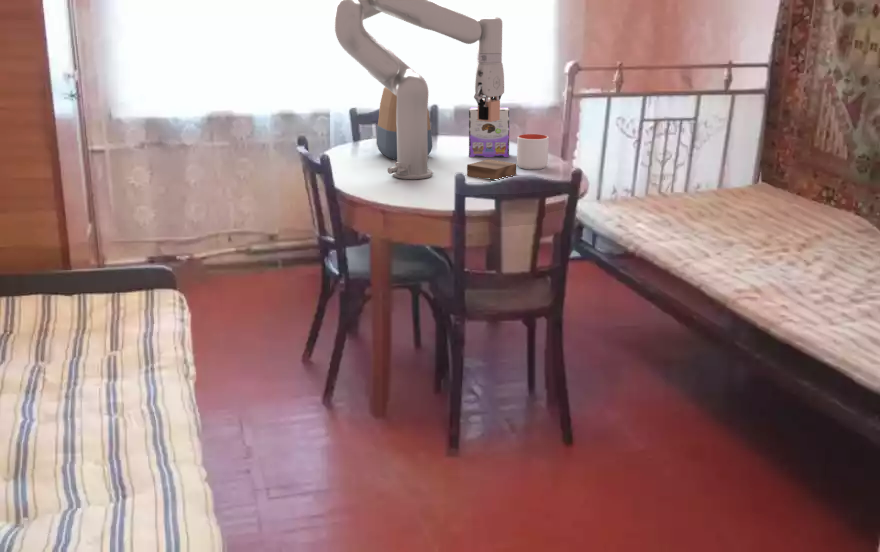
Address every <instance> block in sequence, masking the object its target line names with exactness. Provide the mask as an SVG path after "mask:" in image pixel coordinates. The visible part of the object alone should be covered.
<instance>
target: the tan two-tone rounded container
mask: <svg viewBox="0 0 880 552" xmlns="http://www.w3.org/2000/svg"><path fill="white" fill-rule="evenodd" d="M396 109H397V96H396V95H395V94H393V93H392V92H391V91H390V90H389V89H387V88H386V87H385V86H384V87H383V90H382V95H381V97H380V103H379V111H378V120H377V121H378V122H377V125H376V145H377V146H376V147H377V149H378V151H379V152H380V153H381V154H382V155H384V156H385V157H386V158H389V159H390V160H395V161H397V126H396ZM430 120H431V119H430V111H429V108H427V142H428V156H429V155H430V153H431V152H432V149H433V134H432V133H433V132H432V131H433V130H432V129H431V121H430Z"/></svg>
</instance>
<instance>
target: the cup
mask: <svg viewBox="0 0 880 552" xmlns="http://www.w3.org/2000/svg"><path fill="white" fill-rule="evenodd" d="M549 138H550V137H549V136H548V135H547V134H546V135H545V134H539V133H526V134H519V135H518V136H517V138H516V139H517V143H516V144H517V145H516V146H517V148H516V166H517V167H518V168H520V169H524V170H530V169H532V170H534V171H535V169H536V170H541V169H545V168H547V166H548V162H549Z"/></svg>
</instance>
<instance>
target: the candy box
mask: <svg viewBox="0 0 880 552" xmlns="http://www.w3.org/2000/svg"><path fill="white" fill-rule="evenodd" d="M510 110H511V109H510V107H501V106H500V120H497V121H492V122H488V121H479V120H478V106H477V107H469V110H468V157H469V158H509V157H510V138H511V137H510V136H511V135H510V130H511V128H510V122H511V121H510V114H511V113H510Z"/></svg>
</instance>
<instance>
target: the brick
mask: <svg viewBox="0 0 880 552" xmlns="http://www.w3.org/2000/svg"><path fill="white" fill-rule="evenodd" d="M484 100H485V99H483V101H484ZM477 107H478V106H477ZM487 107H488V120H481V119H479V107H478V120H479V121H488V122H492V121H497V120H500V107H501V99H500V100H491V99H490V98H488V104H487Z"/></svg>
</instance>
